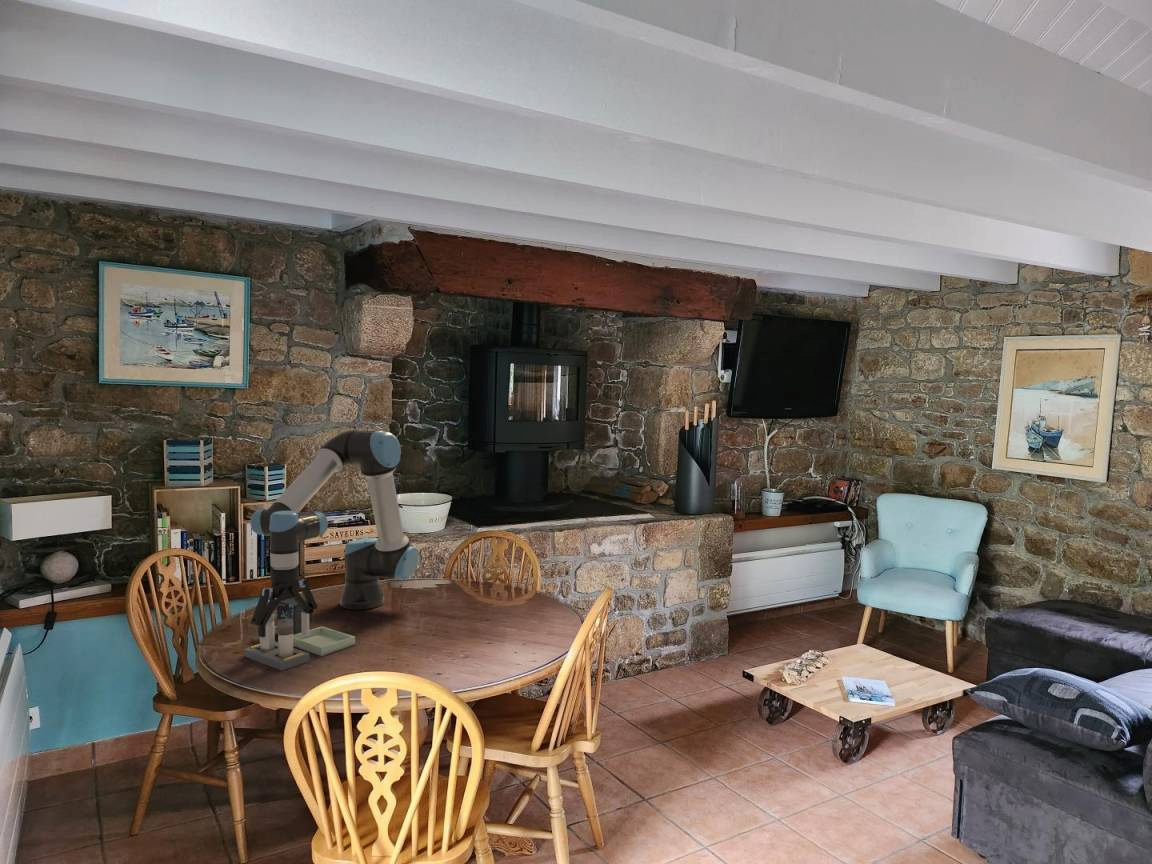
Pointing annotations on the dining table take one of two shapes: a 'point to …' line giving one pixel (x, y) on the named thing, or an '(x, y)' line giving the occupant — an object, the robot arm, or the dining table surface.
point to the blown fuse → (285, 638)
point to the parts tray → (323, 641)
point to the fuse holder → (276, 657)
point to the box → (290, 613)
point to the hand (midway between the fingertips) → (285, 641)
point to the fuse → (270, 634)
